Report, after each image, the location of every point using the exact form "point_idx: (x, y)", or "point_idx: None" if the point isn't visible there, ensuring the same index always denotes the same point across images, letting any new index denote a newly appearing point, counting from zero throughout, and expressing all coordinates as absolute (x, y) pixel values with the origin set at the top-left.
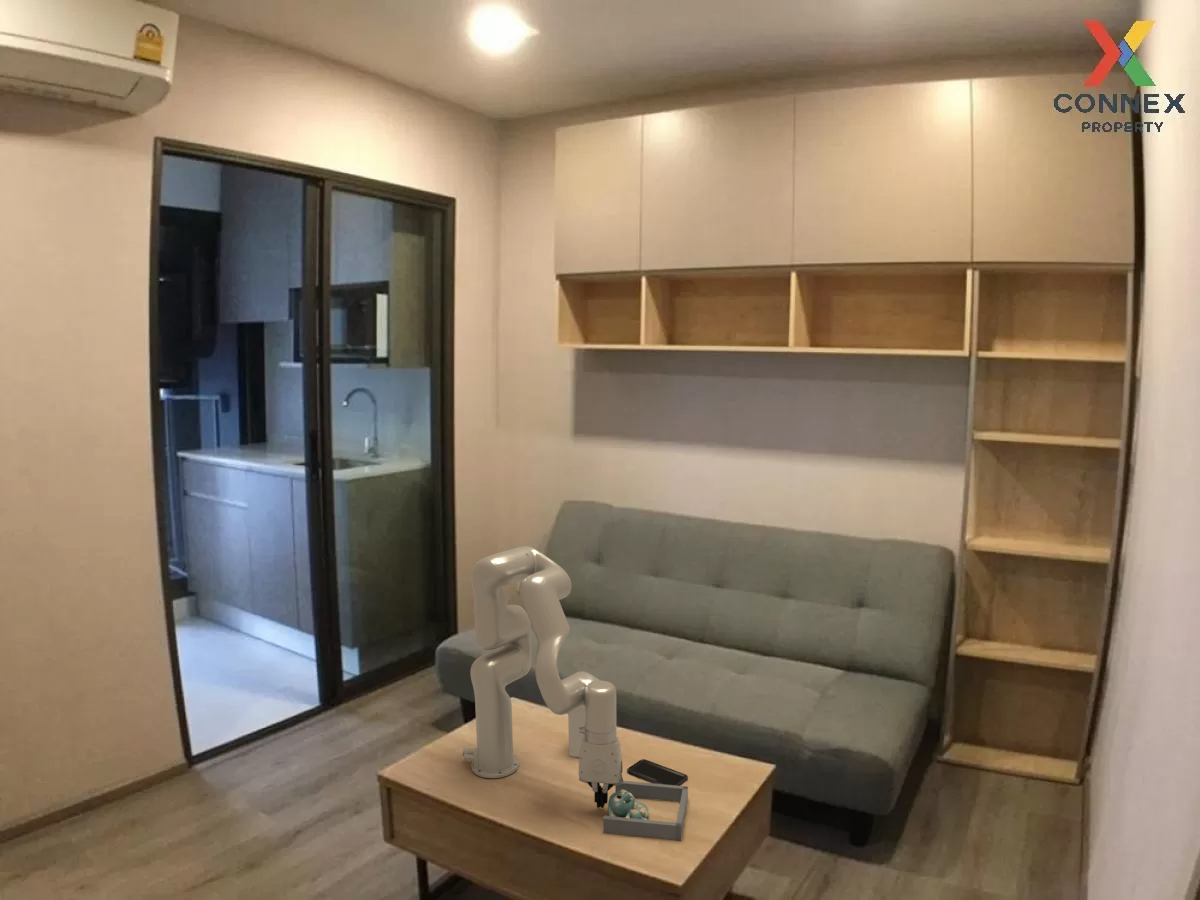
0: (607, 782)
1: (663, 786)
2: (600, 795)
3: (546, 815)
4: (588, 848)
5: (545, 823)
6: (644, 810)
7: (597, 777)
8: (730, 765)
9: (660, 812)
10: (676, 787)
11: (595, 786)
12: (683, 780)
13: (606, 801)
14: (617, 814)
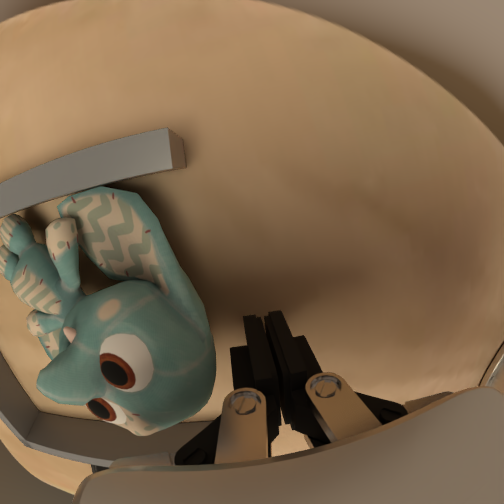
0: (197, 478)
1: (70, 454)
2: (273, 366)
3: (456, 214)
4: (220, 5)
5: (450, 159)
6: (29, 330)
7: (354, 500)
8: (70, 487)
9: (45, 364)
10: (40, 447)
11: (333, 408)
12: (92, 471)
13: (230, 353)
14: (135, 280)
